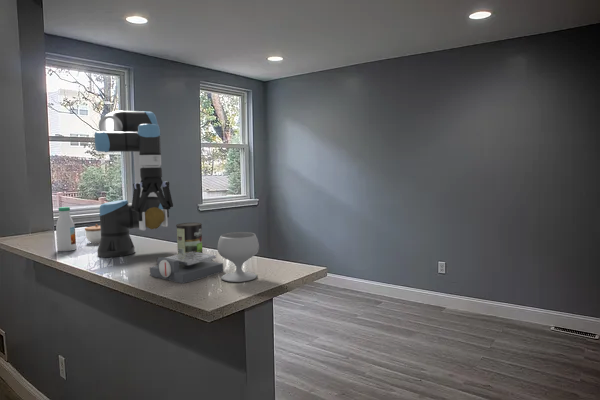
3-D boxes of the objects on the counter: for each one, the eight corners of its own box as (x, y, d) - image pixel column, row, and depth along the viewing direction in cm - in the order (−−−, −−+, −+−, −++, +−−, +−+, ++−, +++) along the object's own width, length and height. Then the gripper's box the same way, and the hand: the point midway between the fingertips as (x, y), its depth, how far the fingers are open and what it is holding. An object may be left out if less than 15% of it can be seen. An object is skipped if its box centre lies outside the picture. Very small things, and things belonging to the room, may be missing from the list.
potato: (165, 226, 164) (164, 206, 163) (162, 230, 156) (161, 208, 156) (146, 227, 163) (145, 206, 162) (142, 230, 155) (141, 208, 155)
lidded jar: (80, 244, 215) (79, 225, 214) (96, 240, 225) (95, 222, 224) (98, 244, 212) (97, 225, 211) (113, 240, 222) (112, 222, 221)
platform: (163, 260, 154) (163, 257, 154) (192, 253, 164) (192, 251, 164) (187, 265, 146) (187, 262, 146) (215, 258, 157) (215, 255, 157)
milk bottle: (66, 252, 195) (63, 208, 194) (53, 251, 198) (50, 208, 196) (80, 248, 203) (77, 206, 201) (67, 247, 205) (64, 206, 203)
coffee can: (206, 255, 185) (205, 222, 183) (196, 260, 175) (195, 226, 173) (184, 254, 187) (183, 222, 185) (173, 259, 177) (171, 225, 175)
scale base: (148, 276, 152) (147, 257, 151) (190, 265, 167) (189, 247, 166) (181, 284, 141) (180, 263, 141) (223, 271, 156) (222, 253, 156)
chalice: (224, 272, 155) (223, 231, 154) (263, 272, 154) (262, 231, 152) (213, 283, 141) (211, 238, 140) (255, 284, 140) (253, 238, 138)
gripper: (129, 167, 146) (133, 233, 148) (181, 166, 164) (184, 225, 166) (117, 167, 151) (121, 231, 153) (169, 166, 168) (172, 223, 170)
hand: (153, 228), depth 159 cm, fingers closed on potato, 9 cm apart
